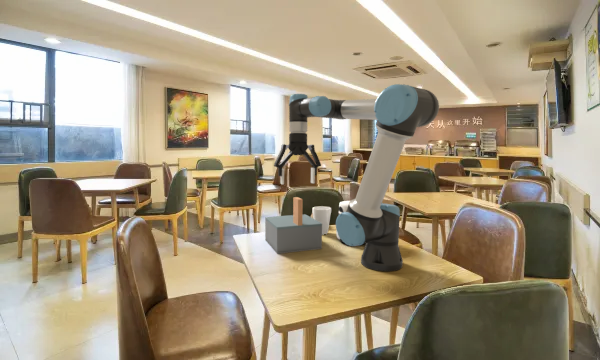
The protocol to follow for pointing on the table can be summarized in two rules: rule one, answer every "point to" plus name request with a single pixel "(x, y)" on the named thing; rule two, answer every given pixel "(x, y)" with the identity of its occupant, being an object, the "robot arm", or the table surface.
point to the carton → (293, 238)
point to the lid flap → (293, 218)
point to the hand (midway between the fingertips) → (297, 183)
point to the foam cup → (322, 217)
